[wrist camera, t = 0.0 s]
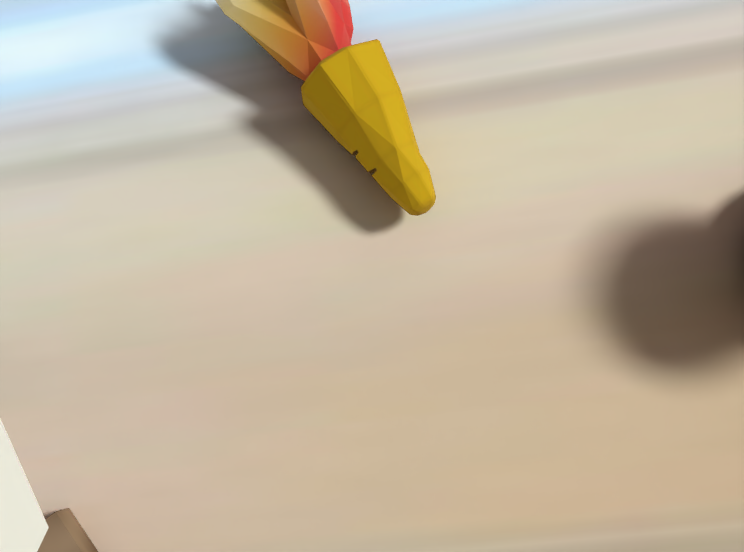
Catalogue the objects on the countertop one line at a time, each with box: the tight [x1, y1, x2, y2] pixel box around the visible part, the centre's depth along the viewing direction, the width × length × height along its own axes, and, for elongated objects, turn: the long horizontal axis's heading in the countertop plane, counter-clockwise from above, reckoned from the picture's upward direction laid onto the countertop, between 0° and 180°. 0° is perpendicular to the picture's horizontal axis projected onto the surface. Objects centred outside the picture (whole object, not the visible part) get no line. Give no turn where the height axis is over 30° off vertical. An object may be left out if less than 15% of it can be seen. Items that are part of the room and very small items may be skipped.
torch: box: [216, 0, 436, 215], centre depth 49 cm, size 8×8×25 cm
